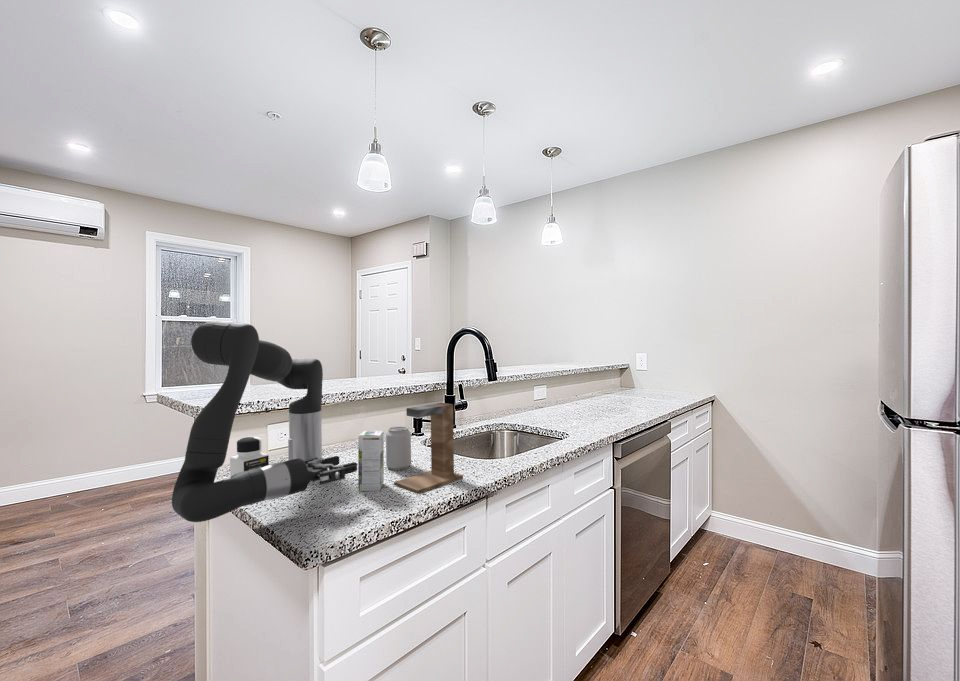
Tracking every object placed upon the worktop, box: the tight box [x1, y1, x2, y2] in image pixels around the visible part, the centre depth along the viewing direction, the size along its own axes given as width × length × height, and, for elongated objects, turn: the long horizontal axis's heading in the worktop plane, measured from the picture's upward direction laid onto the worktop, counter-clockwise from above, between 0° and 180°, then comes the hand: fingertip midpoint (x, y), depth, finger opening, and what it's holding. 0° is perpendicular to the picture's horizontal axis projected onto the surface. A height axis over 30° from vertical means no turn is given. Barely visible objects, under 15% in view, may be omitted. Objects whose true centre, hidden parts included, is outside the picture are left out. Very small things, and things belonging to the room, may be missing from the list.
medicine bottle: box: [229, 436, 270, 479], centre depth 120 cm, size 7×7×12 cm
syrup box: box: [357, 430, 385, 492], centre depth 114 cm, size 6×6×14 cm
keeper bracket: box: [393, 402, 464, 494], centre depth 118 cm, size 16×10×20 cm, turn 138°
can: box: [385, 425, 412, 471], centre depth 132 cm, size 8×8×12 cm
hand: (347, 463), depth 109 cm, fingers open, 8 cm apart
